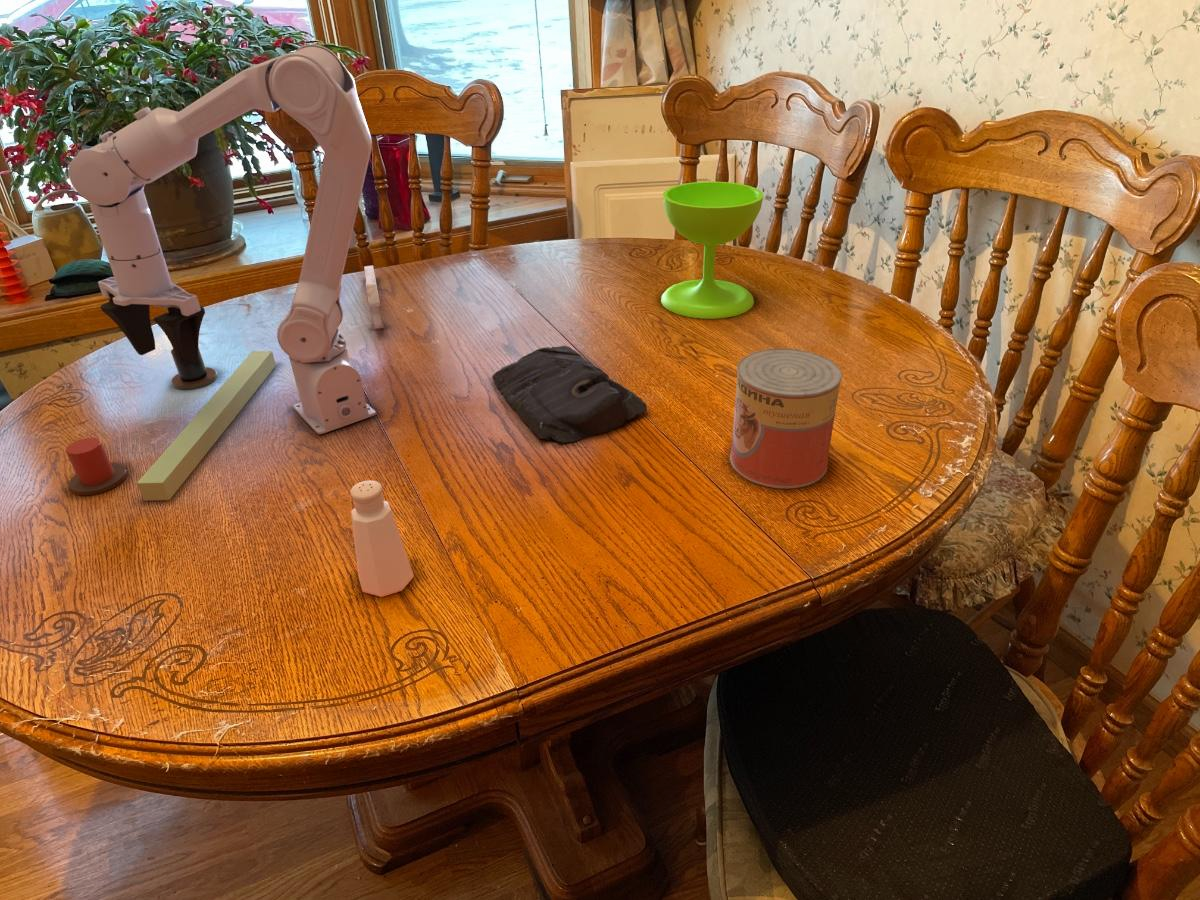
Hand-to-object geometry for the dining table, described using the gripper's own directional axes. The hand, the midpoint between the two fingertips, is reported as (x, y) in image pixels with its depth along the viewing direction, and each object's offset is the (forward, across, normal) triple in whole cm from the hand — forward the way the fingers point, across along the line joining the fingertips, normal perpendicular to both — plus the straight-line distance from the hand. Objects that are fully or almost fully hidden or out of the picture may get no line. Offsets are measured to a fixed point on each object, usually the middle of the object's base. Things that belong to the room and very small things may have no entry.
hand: (168, 357), depth 99 cm
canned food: (+7, +74, +20) cm, 77 cm away
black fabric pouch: (+8, +44, +24) cm, 51 cm away
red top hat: (+10, +2, -14) cm, 17 cm away
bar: (+9, +4, +1) cm, 10 cm away
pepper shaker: (+8, +44, -15) cm, 47 cm away
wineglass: (+7, +51, +64) cm, 83 cm away
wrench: (+9, -1, +41) cm, 42 cm away
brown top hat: (+9, -9, +9) cm, 16 cm away
